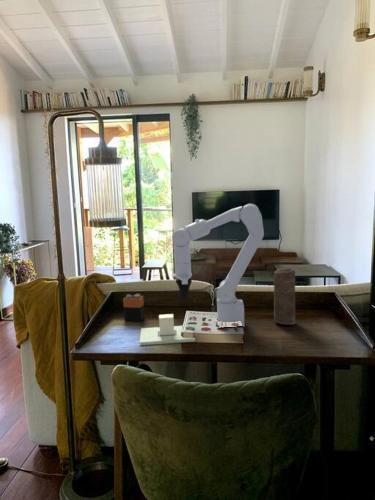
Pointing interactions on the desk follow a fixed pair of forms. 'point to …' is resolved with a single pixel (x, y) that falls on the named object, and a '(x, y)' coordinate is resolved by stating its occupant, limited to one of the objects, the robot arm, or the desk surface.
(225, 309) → the robot arm
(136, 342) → the desk surface
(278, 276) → the candle
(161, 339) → the header board
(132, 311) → the battery
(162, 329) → the housing
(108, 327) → the desk surface
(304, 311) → the desk surface
